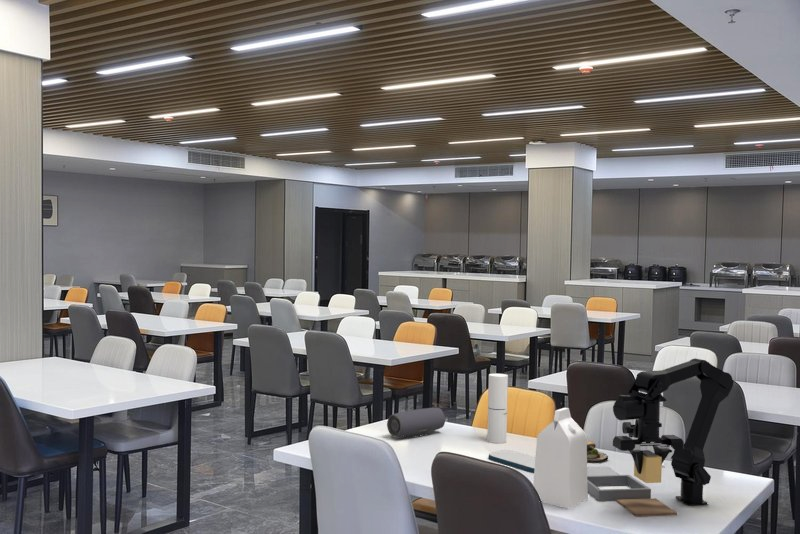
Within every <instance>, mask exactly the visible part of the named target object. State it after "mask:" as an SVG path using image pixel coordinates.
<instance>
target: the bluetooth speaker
mask: <svg viewBox="0 0 800 534" xmlns="http://www.w3.org/2000/svg"><path fill="white" fill-rule="evenodd" d="M445 424H446V417H445V414H444V411H443V410H442V409H441V408H440V407H425V408H418V409H417V408H416V409H412V410H406V411H400V412H397V413H393V414H391V415H390V416H389V417H388V418H387V423H386V427H387V431H388V433H389V434H390V436H392V437H395V438H396V437H405V436H406V437H405V438H407V437H411V438H416V437H415V436H418V437H421V436H420V435H423V436H426V435H425V434H427V435H428V433H429V432H432V431H433V432H434V431H436V430H440V429H442V428H443V427H444V426H445Z"/></svg>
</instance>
